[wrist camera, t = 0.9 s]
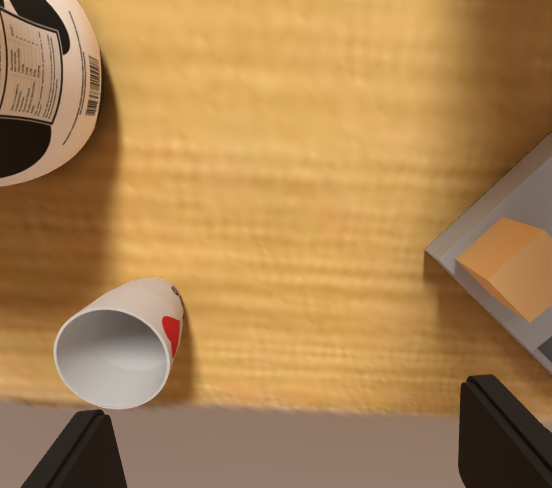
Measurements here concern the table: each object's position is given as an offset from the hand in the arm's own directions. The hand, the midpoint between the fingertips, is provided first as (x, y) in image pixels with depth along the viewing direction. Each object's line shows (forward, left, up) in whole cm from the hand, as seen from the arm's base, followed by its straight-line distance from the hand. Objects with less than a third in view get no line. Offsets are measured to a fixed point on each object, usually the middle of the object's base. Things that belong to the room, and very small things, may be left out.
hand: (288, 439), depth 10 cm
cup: (+13, -4, -25) cm, 29 cm away
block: (-11, +15, -22) cm, 29 cm away
